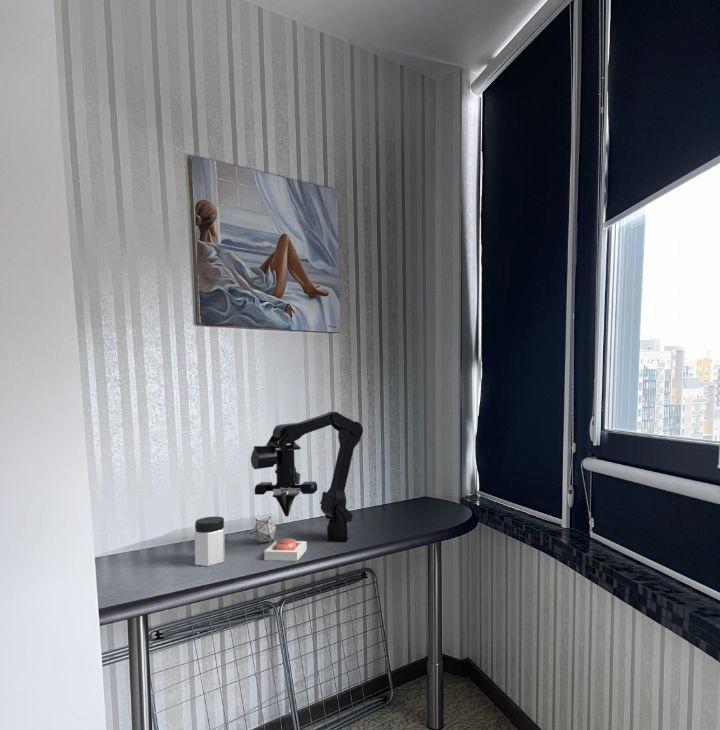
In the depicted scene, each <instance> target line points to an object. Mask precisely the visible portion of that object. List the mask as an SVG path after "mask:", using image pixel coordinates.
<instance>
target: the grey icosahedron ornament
mask: <svg viewBox="0 0 720 730" xmlns="http://www.w3.org/2000/svg"><path fill="white" fill-rule="evenodd" d="M271 518H272V517H271V516H268V518H264V519H257V518H255V521H256V522H255V523H254V528H253V530H252V532H250V533H249V535H253V536H254V538H255V539H256V540H257V541H258V546H260V545H261V543H266V542H273V543H274V542H275V540H274V537H275V535H276V532H277V529H279V528H280V526H276V525H275V523H274V522H273V520H272V519H271Z"/></svg>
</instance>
